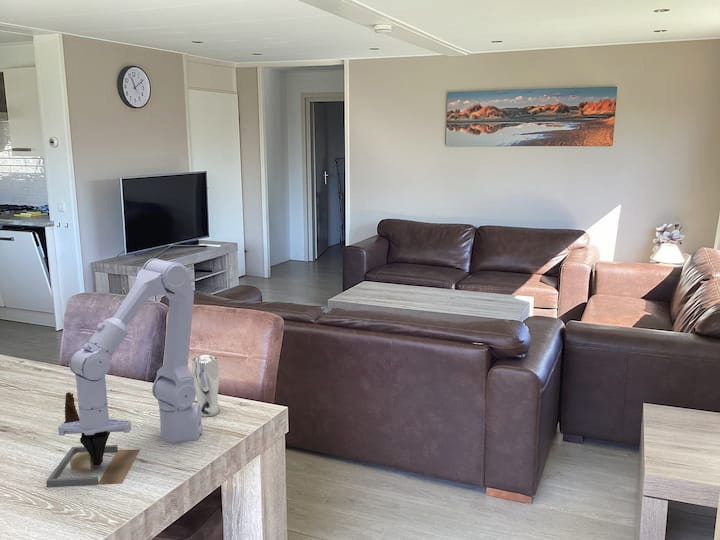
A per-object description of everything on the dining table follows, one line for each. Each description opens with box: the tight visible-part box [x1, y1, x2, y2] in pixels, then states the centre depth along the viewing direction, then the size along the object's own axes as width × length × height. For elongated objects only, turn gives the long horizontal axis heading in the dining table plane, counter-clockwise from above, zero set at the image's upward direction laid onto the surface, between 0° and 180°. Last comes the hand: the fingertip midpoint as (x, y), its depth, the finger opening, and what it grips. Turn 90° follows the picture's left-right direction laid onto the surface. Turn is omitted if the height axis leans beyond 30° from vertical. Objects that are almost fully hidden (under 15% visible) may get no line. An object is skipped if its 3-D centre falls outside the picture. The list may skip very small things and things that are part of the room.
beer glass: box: [191, 354, 221, 418], centre depth 168 cm, size 7×7×15 cm
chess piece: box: [63, 391, 80, 423], centre depth 158 cm, size 5×5×10 cm
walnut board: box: [96, 448, 141, 486], centre depth 138 cm, size 5×15×1 cm, turn 5°
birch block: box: [69, 452, 95, 473], centre depth 138 cm, size 4×4×4 cm
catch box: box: [45, 444, 119, 488], centre depth 138 cm, size 10×15×3 cm, turn 5°
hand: (98, 463), depth 138 cm, fingers closed
